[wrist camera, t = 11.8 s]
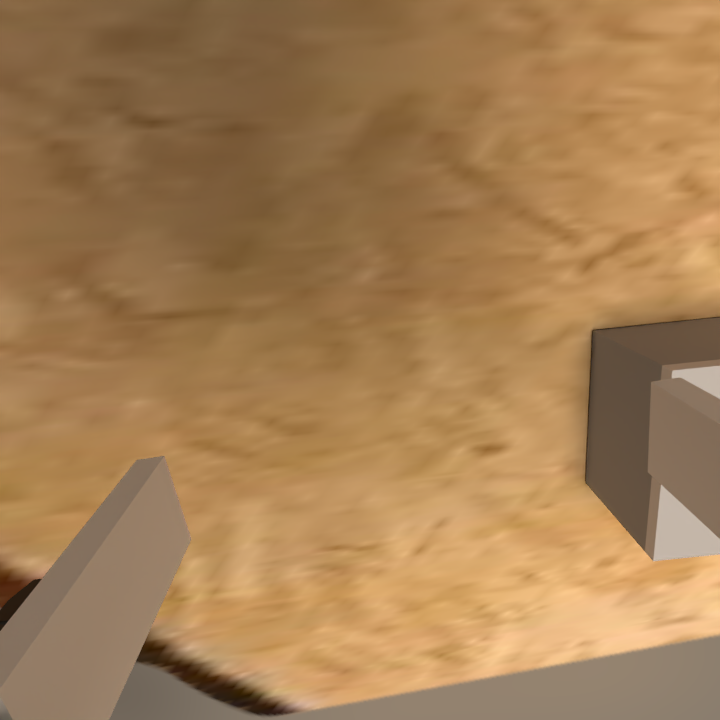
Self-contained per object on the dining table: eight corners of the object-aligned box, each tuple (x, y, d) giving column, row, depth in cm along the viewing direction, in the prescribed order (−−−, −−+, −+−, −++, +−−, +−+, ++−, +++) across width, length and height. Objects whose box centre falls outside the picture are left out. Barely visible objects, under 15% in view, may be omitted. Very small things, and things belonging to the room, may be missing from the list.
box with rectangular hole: (592, 330, 39) (672, 370, 30) (742, 314, 39) (870, 350, 30) (585, 482, 43) (653, 560, 34) (720, 469, 43) (826, 543, 34)
